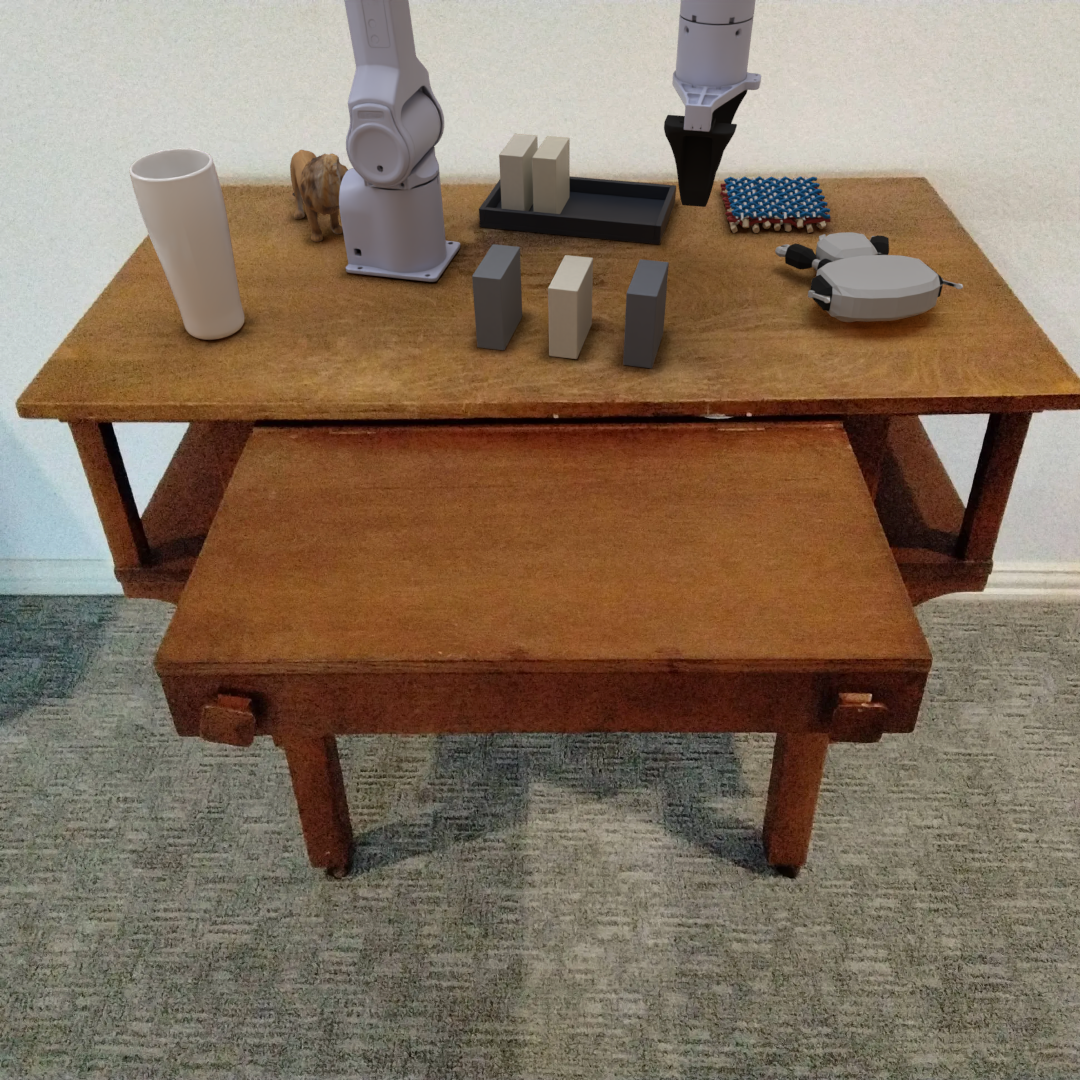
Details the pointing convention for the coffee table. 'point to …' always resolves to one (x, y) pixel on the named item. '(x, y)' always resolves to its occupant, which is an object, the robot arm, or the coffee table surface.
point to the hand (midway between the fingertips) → (700, 186)
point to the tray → (593, 211)
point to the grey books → (503, 304)
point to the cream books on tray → (535, 173)
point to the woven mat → (774, 203)
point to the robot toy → (865, 278)
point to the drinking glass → (191, 237)
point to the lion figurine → (317, 188)
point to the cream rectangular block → (570, 306)
